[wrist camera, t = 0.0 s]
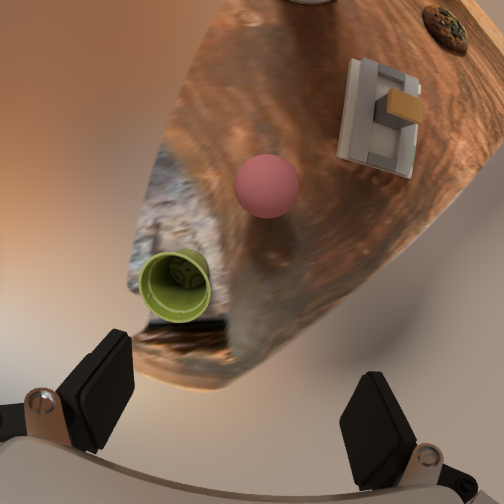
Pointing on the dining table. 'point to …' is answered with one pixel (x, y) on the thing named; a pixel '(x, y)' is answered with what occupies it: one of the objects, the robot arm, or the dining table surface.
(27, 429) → the robot arm
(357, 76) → the switch panel
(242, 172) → the light bulb
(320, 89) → the dining table surface
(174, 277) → the plant pot
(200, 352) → the dining table surface
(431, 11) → the bread roll
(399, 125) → the breaker handle
